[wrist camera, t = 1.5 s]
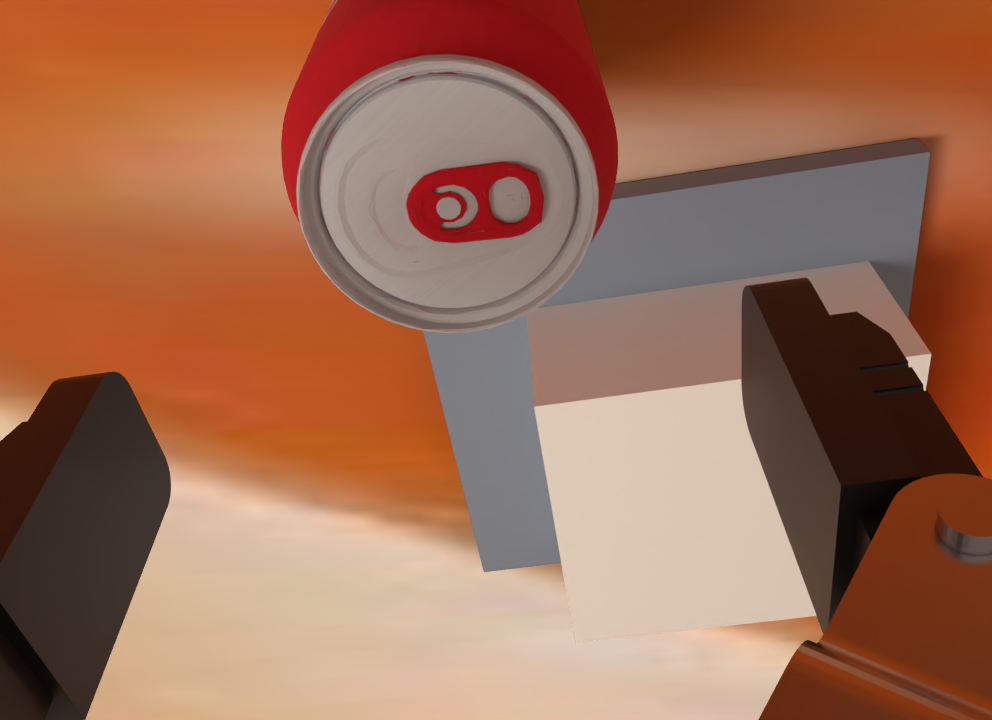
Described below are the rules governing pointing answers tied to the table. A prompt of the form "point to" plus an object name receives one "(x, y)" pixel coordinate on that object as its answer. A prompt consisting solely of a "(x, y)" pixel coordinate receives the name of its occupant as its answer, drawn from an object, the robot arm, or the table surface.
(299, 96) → the beverage can
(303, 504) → the table surface
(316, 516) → the table surface
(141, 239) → the table surface
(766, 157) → the table surface
